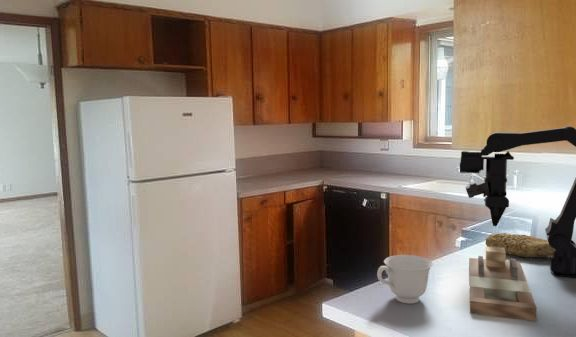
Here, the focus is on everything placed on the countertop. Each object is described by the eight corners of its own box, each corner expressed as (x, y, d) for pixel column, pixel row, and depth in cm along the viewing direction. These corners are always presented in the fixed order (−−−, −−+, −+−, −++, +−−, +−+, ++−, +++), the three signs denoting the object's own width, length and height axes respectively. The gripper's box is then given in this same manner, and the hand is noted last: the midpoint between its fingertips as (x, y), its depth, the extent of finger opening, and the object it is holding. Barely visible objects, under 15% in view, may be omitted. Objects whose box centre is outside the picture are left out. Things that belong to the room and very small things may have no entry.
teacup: (365, 296, 123) (365, 259, 122) (412, 287, 128) (412, 252, 127) (391, 314, 112) (392, 273, 111) (442, 303, 117) (443, 265, 116)
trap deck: (519, 271, 139) (520, 250, 139) (536, 321, 107) (537, 293, 106) (469, 267, 144) (469, 246, 144) (470, 312, 112) (470, 286, 111)
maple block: (503, 262, 139) (504, 247, 138) (505, 267, 134) (505, 252, 134) (485, 261, 141) (485, 246, 140) (486, 266, 136) (486, 251, 135)
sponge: (483, 256, 159) (542, 258, 143) (482, 233, 161) (540, 232, 144) (505, 256, 167) (563, 257, 151) (503, 234, 168) (562, 233, 152)
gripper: (467, 169, 153) (466, 216, 155) (467, 177, 136) (466, 230, 138) (504, 170, 149) (503, 218, 151) (510, 178, 132) (508, 232, 134)
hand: (494, 224), depth 144 cm, fingers open, 3 cm apart
